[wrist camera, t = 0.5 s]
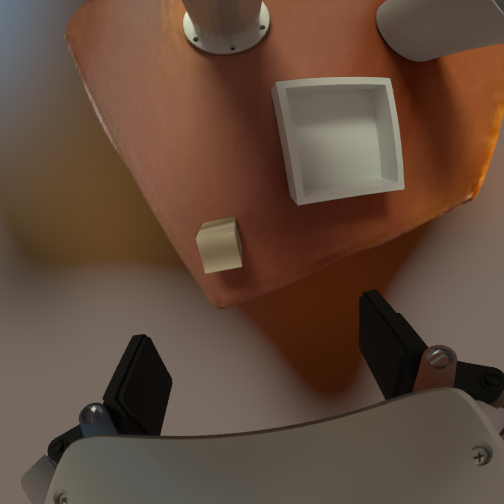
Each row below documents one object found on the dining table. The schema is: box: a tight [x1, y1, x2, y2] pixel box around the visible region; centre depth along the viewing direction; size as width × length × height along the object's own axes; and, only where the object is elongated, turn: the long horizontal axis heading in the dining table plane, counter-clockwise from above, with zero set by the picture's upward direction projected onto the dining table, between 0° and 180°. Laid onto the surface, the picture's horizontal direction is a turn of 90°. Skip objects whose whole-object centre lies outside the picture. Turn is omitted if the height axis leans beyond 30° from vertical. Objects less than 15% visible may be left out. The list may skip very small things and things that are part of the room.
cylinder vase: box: [376, 0, 504, 62], centre depth 17 cm, size 12×12×25 cm
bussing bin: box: [271, 77, 404, 205], centre depth 34 cm, size 16×16×6 cm
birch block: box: [196, 217, 242, 273], centre depth 39 cm, size 5×5×7 cm
